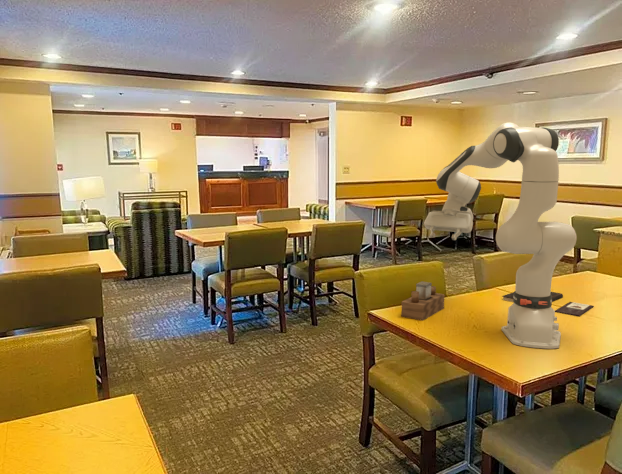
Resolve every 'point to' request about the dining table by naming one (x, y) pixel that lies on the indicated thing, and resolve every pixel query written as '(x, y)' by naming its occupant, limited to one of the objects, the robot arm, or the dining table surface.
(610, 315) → the dining table surface
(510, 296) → the hardcover book
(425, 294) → the grey upright block
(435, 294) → the brown block with knob
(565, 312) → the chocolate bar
